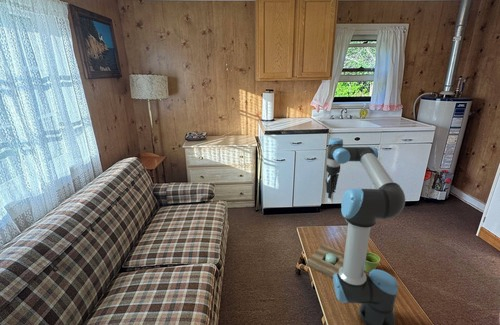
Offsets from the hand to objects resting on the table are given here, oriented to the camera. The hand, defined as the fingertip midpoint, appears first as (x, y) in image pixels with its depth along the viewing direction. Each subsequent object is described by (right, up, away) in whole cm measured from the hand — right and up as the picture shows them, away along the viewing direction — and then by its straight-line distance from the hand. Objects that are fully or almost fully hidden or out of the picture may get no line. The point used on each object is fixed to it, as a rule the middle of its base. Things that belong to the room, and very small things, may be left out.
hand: (329, 202), depth 159 cm
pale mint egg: (0, -36, -1) cm, 36 cm away
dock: (0, -37, -1) cm, 37 cm away
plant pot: (+21, -38, -6) cm, 44 cm away
